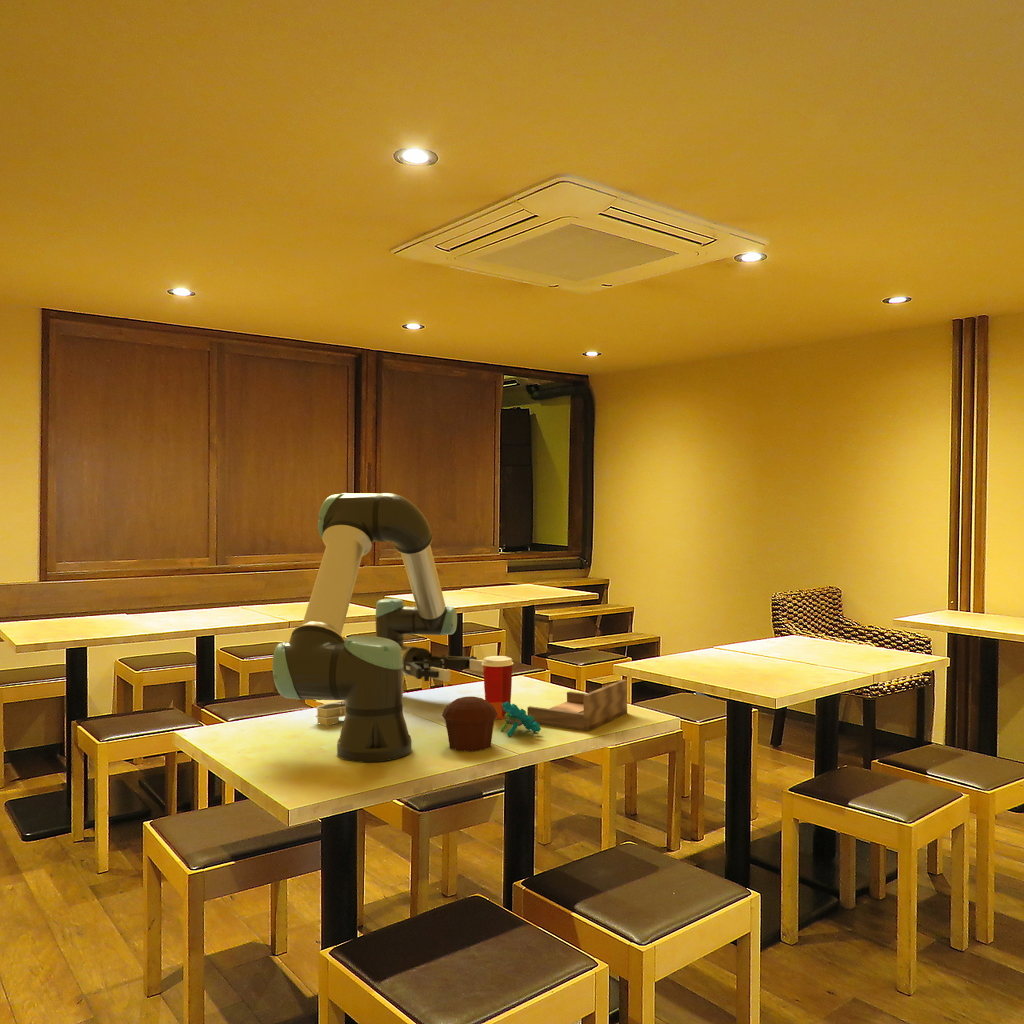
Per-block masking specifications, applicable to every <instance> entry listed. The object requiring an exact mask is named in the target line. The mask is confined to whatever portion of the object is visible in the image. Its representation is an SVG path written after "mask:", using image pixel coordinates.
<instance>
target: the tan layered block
mask: <svg viewBox="0 0 1024 1024" xmlns="http://www.w3.org/2000/svg"><path fill="white" fill-rule="evenodd" d="M315 702H316V703H321V704H320V705H318V706H315V709H317V713H316V714H317V715H315V718H316V719H317V724H318V723H320V724H319V725H321V724H324V725H323V726H326V725H328V726H331V725H334V724H333V723H335V724H338V722H339V723H340V720H339V719H340V718H343V717H344V718H345V715H346V705H345V701H344V700H315ZM330 724H331V725H330Z"/></svg>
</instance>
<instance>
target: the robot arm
mask: <svg viewBox="0 0 1024 1024" xmlns="http://www.w3.org/2000/svg"><path fill="white" fill-rule="evenodd" d="M317 530H318V534H319V536H320V538H321V540H322V542H323V545H324V546H325V549H324V552H323V554H322V555H323V556H322V558H321V562H320V566H319V568H318V572H317V574H316V575H317V576H316V578H315V581H314V584H313V588H312V592H311V595H310V599H309V601H308V605H307V607H306V610H305V614H304V618H303V621H302V624H301V625H298V626H297V627H295V628H294V629H293V630H292V632H291V635H290V638H289V641H288V642H287V641H282V642H279V643H278V644H277V645H276V646H275V649H274V650H273V651H274V652H273V655H272V675H273V682H274V686H275V688H276V690H277V692H278V694H279V695H280V696H281V697H283V698H285V699H293V700H299V701H304V700H306V701H307V700H310V701H311V700H313V701H319V700H344V701H343V702H344V703H345V705H346V715H345V716H344V719H343V723H342V727H341V730H340V733H339V734H340V735H339V738H338V740H337V744H336V750H337V751H336V752H337V753H336V754H337V756H338V757H339V758H341V759H343V760H346V761H349V762H350V761H351V762H358V763H359V762H362V763H373V762H375V763H378V762H386V761H391V760H396V759H400V758H402V757H406V756H407V755H409V754H411V752H412V751H413V750H412V749H413V748H412V747H413V745H412V743H413V742H412V738H411V735H410V734H409V731H408V729H409V728H408V726H407V723H406V719H405V715H404V704H403V703H404V702H403V700H404V697H403V693H404V692H403V691H404V689H403V682H404V681H403V677H404V676H405V677H408V676H411V677H415V678H416V679H417V680H422V679H423V681H424V682H430V679H432V680H436V681H437V680H438V681H443V682H447V683H449V682H451V669H452V670H453V669H462V670H463V669H465V670H466V669H467V670H469V671H475V672H481V673H483V665H481V664H482V662H483V660H481V659H478V658H477V656H474V655H471V656H455V655H453V656H452V655H442V656H438V655H432V653H431V651H430V650H429V649H427V648H423V647H416V646H411V645H405V644H404V641H405V637H404V636H405V635H417V636H418V635H419V636H421V635H422V636H428V635H429V636H446V635H447V636H448V635H449V636H450V635H451V636H452V635H454V633H455V632H456V631H457V626H458V613H457V610H456V609H455V607H454V606H453V607H452V606H448V605H447V606H446V603H445V599H444V598H445V597H444V595H443V589H442V586H441V583H440V578H439V574H438V570H437V566H436V562H435V558H434V554H433V552H432V547H431V544H432V543H433V533H432V529H431V527H430V524H429V522H428V520H427V518H426V516H425V515H424V513H422V511H421V510H420V509H419V508H418V506H416V505H415V504H414V503H413V502H411V501H410V500H409V499H407V498H406V497H404V496H403V495H400V494H396V493H392V492H391V493H390V492H381V493H379V492H378V493H375V492H374V493H366V492H365V493H358V492H357V493H348V492H343V493H337V494H335V493H334V494H331V495H330V496H328V497H327V498H326V499H324V501H323V503H322V504H321V506H320V509H319V512H318V521H317ZM380 542H381V543H382V542H383V543H386V542H389V543H392V544H393V546H394V549H395V550H396V551H397V552H398V553H400V555H401V559H402V562H403V565H404V569H405V572H406V575H407V578H408V582H409V585H410V586H409V587H410V590H411V592H412V596H413V599H414V603H415V606H405V604H404V600H403V599H401V598H384V599H383V598H382V599H379V600H378V601H377V602H376V604H375V616H374V618H375V636H374V635H350V636H348V637H346V638H344V637H343V635H342V632H343V630H344V625H345V621H346V617H347V615H348V614H347V613H348V611H349V607H350V603H351V599H352V596H353V591H354V588H355V585H356V581H357V578H358V573H359V570H360V565H361V562H362V558H363V557H364V556H366V555H367V554H368V553H369V552H371V549H372V547H373V546H372V545H373V543H380Z"/></svg>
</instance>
